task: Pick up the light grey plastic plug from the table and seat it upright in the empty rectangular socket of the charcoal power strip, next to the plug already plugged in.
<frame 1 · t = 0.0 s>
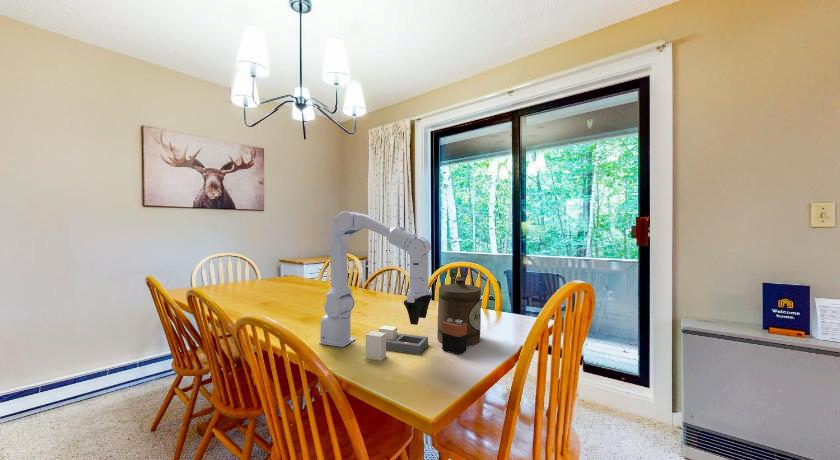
hand: (418, 320, 104), 10 cm above the table, tool pointing down, fingers open, 7 cm apart
battery: (454, 351, 107), on the table
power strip: (399, 345, 111), on the table
wooden container: (458, 340, 117), on the table
plug: (375, 357, 101), on the table
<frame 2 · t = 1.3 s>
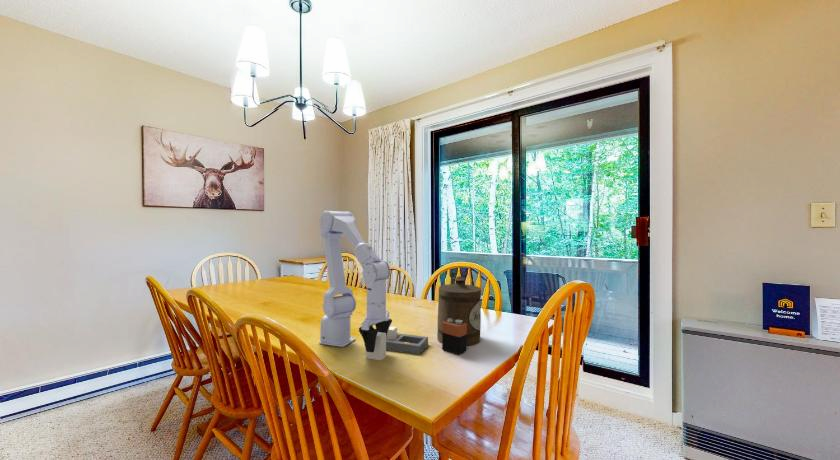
hand: (376, 347, 101), 3 cm above the table, tool pointing down, fingers open, 7 cm apart
nothing on the table moved.
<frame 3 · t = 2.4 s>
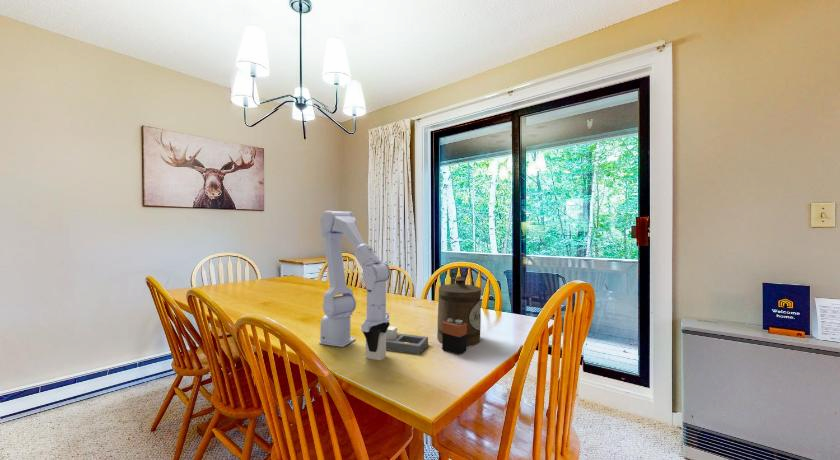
hand: (375, 348, 101), 2 cm above the table, tool pointing down, fingers closed on plug, 3 cm apart
plug: (375, 356, 101), on the table, touching gripper
everything else where it was.
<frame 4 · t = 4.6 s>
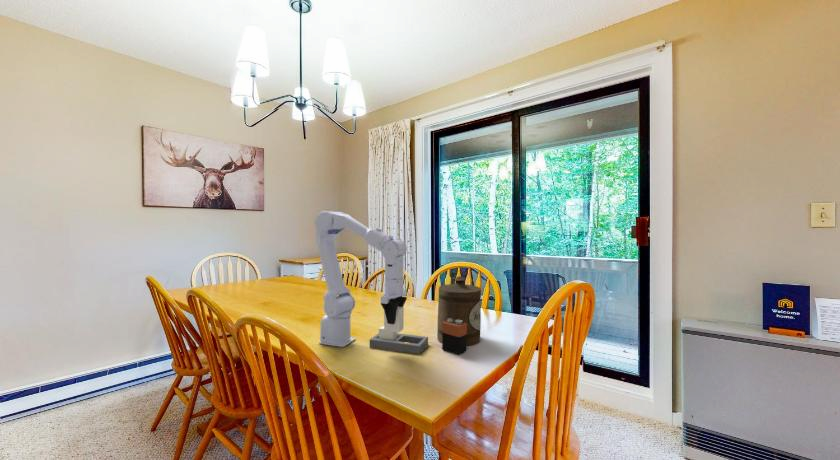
hand: (393, 321, 105), 9 cm above the table, tool pointing down, fingers closed on plug, 3 cm apart
plug: (393, 329, 105), point 7 cm above the table, touching gripper
everything else where it was.
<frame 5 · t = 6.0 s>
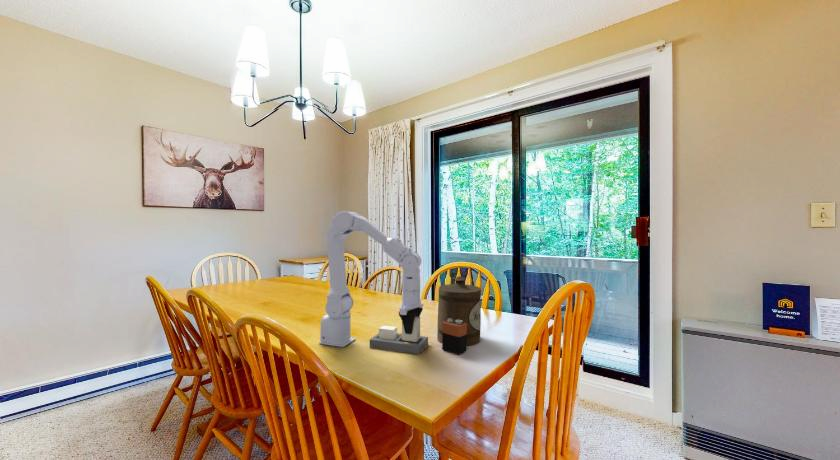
hand: (410, 331, 109), 5 cm above the table, tool pointing down, fingers closed on plug, 3 cm apart
plug: (410, 339, 109), point 3 cm above the table, touching gripper
everything else where it was.
when the fingers open (4 cm above the table, at t = 7.1 s): plug stays where it is, resting on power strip.
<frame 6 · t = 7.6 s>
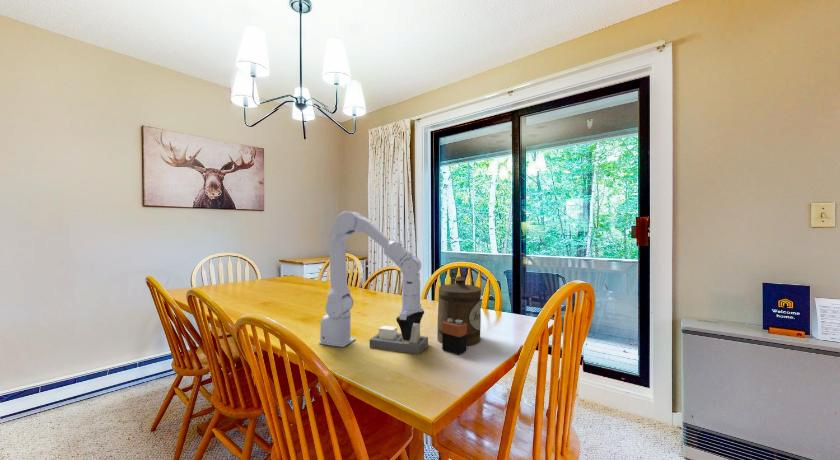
hand: (410, 336, 109), 4 cm above the table, tool pointing down, fingers open, 7 cm apart
plug: (410, 345, 109), resting on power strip
everything else where it was.
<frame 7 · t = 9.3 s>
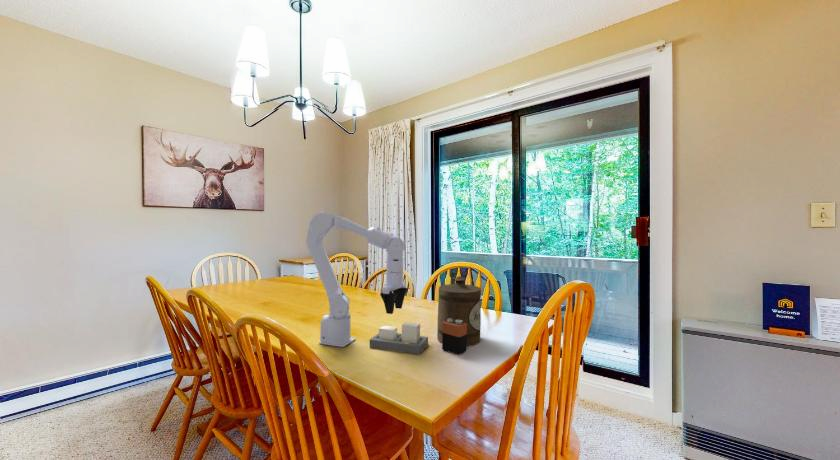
hand: (394, 310, 117), 10 cm above the table, tool pointing down, fingers open, 7 cm apart
nothing on the table moved.
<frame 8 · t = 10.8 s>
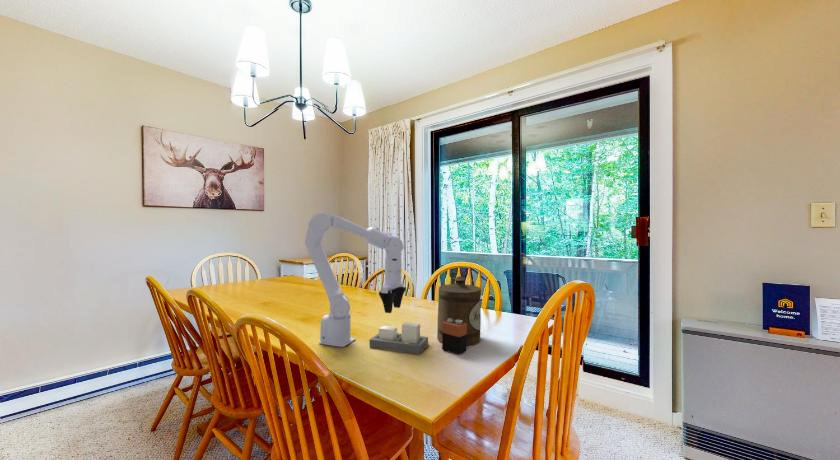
hand: (392, 309, 118), 10 cm above the table, tool pointing down, fingers open, 7 cm apart
nothing on the table moved.
at the end: plug 0.1 cm from the target spot on the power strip, point 0.5 cm above the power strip's base; plug tilted 0°; the gripper is holding nothing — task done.
